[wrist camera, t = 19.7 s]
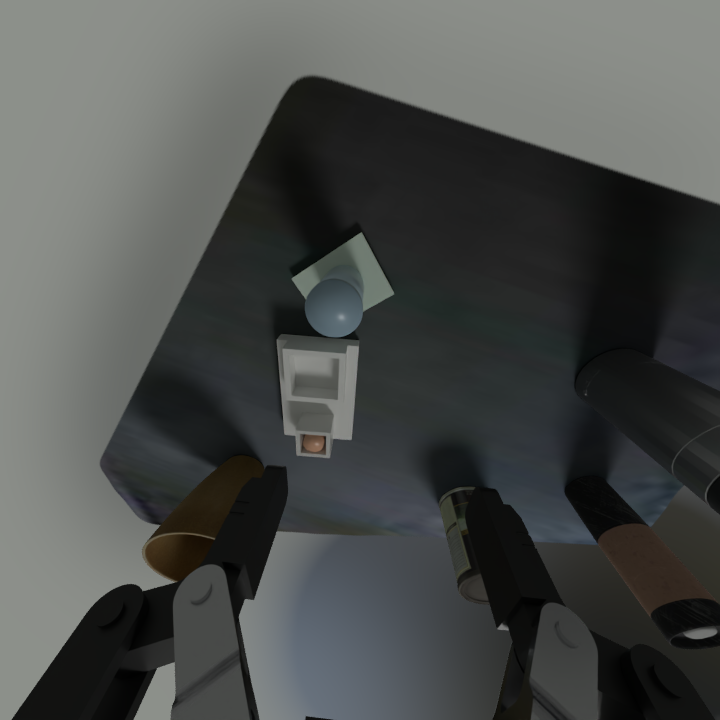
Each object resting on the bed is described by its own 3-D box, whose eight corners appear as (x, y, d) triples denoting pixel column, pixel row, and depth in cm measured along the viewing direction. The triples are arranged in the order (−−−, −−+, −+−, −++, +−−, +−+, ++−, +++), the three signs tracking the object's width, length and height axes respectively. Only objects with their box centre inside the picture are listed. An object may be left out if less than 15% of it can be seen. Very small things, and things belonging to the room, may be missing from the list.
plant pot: (248, 502, 55) (206, 599, 41) (191, 459, 49) (119, 555, 35) (301, 476, 50) (275, 575, 36) (245, 427, 45) (188, 521, 31)
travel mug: (556, 486, 49) (659, 635, 32) (598, 468, 47) (737, 619, 29) (572, 506, 52) (677, 654, 34) (614, 490, 49) (750, 641, 31)
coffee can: (470, 478, 49) (504, 565, 37) (501, 503, 52) (542, 591, 40) (427, 501, 53) (445, 588, 40) (458, 524, 56) (483, 610, 43)
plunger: (327, 421, 41) (323, 437, 37) (326, 435, 42) (323, 452, 39) (307, 419, 41) (302, 435, 37) (308, 434, 42) (303, 450, 39)
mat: (361, 231, 30) (361, 232, 29) (393, 292, 33) (394, 293, 32) (293, 277, 33) (291, 278, 32) (328, 328, 36) (327, 331, 35)
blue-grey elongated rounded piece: (366, 265, 31) (365, 283, 22) (363, 308, 33) (360, 339, 25) (323, 262, 31) (303, 278, 22) (322, 305, 33) (305, 335, 25)
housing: (359, 340, 37) (357, 360, 31) (352, 431, 45) (349, 459, 39) (281, 333, 37) (265, 352, 31) (288, 426, 45) (276, 453, 39)
